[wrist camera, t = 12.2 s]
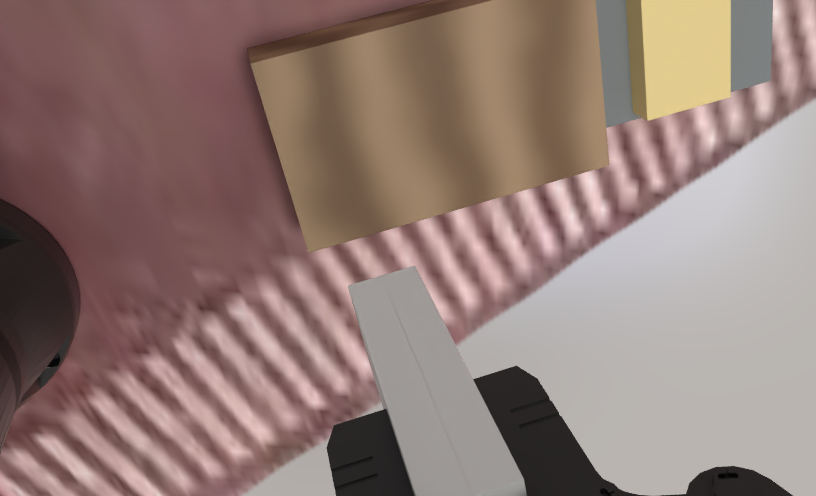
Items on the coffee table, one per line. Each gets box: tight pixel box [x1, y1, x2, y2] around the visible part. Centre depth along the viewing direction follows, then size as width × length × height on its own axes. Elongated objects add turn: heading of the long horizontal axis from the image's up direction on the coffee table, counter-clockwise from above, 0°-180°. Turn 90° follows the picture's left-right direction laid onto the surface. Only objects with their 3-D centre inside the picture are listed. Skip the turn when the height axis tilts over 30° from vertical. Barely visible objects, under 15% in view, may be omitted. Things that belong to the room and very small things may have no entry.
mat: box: [596, 0, 773, 128], centre depth 50 cm, size 14×12×1 cm
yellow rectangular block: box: [626, 0, 731, 121], centre depth 49 cm, size 9×6×2 cm, turn 12°
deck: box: [248, 0, 609, 253], centre depth 47 cm, size 20×12×4 cm, turn 102°
